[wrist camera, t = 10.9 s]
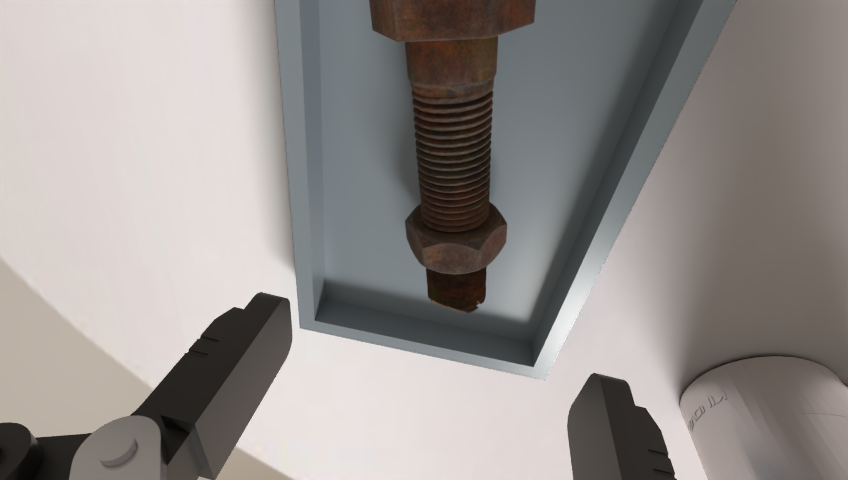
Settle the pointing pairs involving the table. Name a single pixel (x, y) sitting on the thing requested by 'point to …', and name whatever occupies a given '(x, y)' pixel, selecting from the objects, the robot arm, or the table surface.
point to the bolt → (453, 135)
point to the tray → (509, 174)
